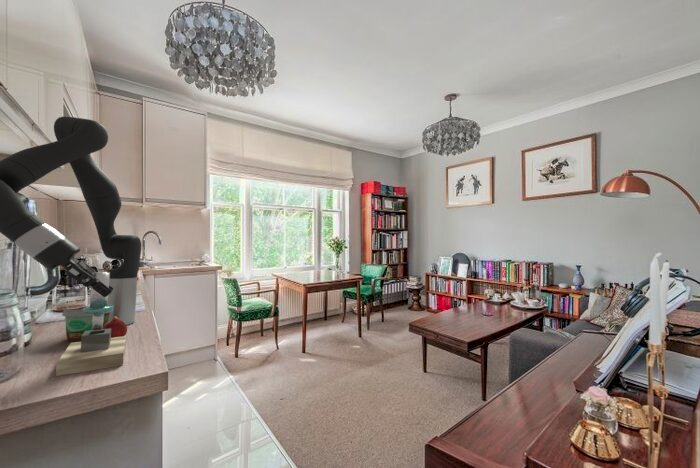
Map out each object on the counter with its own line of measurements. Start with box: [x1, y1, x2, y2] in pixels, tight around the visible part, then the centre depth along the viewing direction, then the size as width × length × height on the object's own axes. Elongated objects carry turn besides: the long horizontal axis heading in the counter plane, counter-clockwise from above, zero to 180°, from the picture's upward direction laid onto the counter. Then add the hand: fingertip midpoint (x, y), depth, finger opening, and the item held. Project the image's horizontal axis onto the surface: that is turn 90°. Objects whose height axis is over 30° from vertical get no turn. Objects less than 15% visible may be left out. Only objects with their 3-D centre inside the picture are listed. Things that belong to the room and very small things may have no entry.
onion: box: [104, 316, 128, 338], centre depth 89 cm, size 6×6×8 cm
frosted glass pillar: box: [83, 271, 113, 331], centre depth 77 cm, size 6×6×15 cm
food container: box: [61, 306, 113, 343], centre depth 91 cm, size 12×6×10 cm, turn 114°
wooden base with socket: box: [55, 328, 127, 377], centre depth 76 cm, size 16×12×7 cm
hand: (109, 292), depth 78 cm, fingers closed on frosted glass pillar, 3 cm apart
